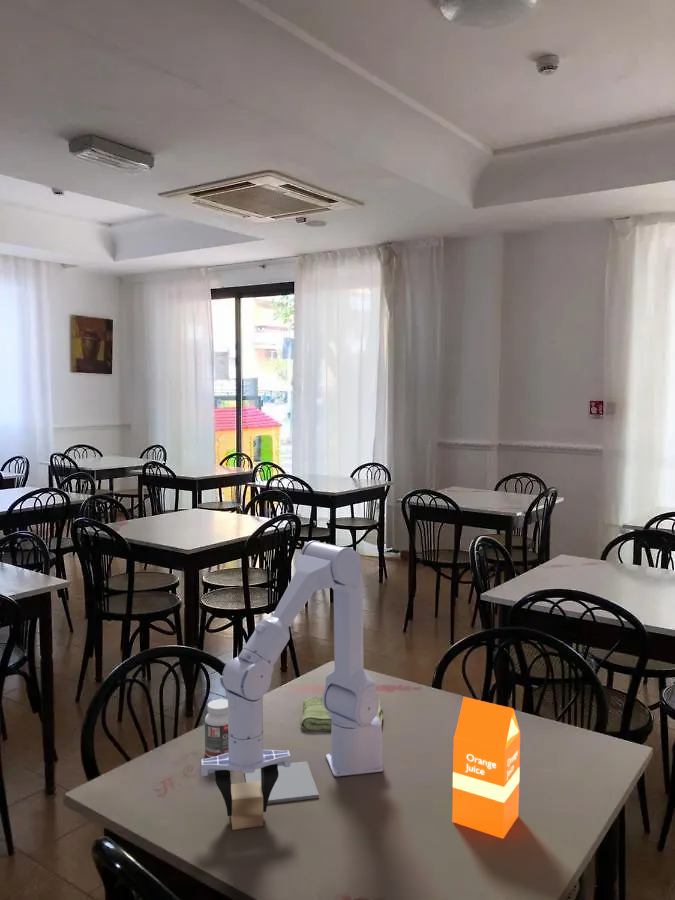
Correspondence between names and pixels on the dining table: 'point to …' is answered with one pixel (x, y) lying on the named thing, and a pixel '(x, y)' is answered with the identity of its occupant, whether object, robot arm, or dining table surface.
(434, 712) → the dining table surface
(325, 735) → the dining table surface
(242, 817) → the oak cube
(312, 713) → the washcloth
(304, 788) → the grey board
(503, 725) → the orange juice
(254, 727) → the robot arm
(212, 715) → the pill bottle
